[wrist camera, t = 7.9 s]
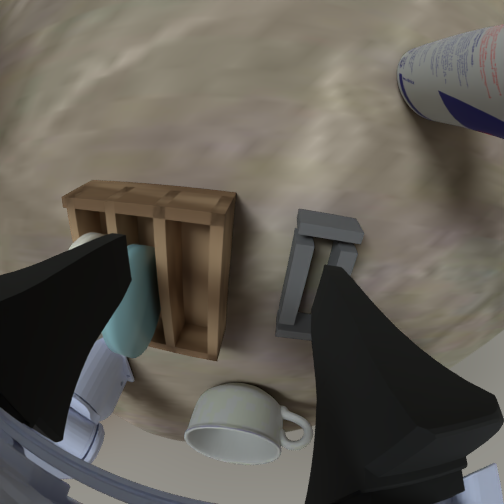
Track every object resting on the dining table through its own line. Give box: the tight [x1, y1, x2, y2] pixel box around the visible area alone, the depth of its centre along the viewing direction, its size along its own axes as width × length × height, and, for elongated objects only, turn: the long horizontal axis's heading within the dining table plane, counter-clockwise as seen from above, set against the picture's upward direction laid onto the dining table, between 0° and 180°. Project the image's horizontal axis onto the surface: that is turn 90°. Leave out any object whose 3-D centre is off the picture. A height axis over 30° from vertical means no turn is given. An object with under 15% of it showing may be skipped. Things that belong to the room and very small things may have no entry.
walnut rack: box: [62, 180, 236, 361], centre depth 21 cm, size 13×12×4 cm
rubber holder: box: [275, 209, 364, 341], centre depth 20 cm, size 10×4×2 cm, turn 174°
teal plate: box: [102, 244, 161, 358], centre depth 18 cm, size 8×1×8 cm, turn 174°
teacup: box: [184, 383, 313, 465], centre depth 28 cm, size 14×11×8 cm
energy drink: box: [397, 24, 504, 139], centre depth 8 cm, size 5×5×12 cm
